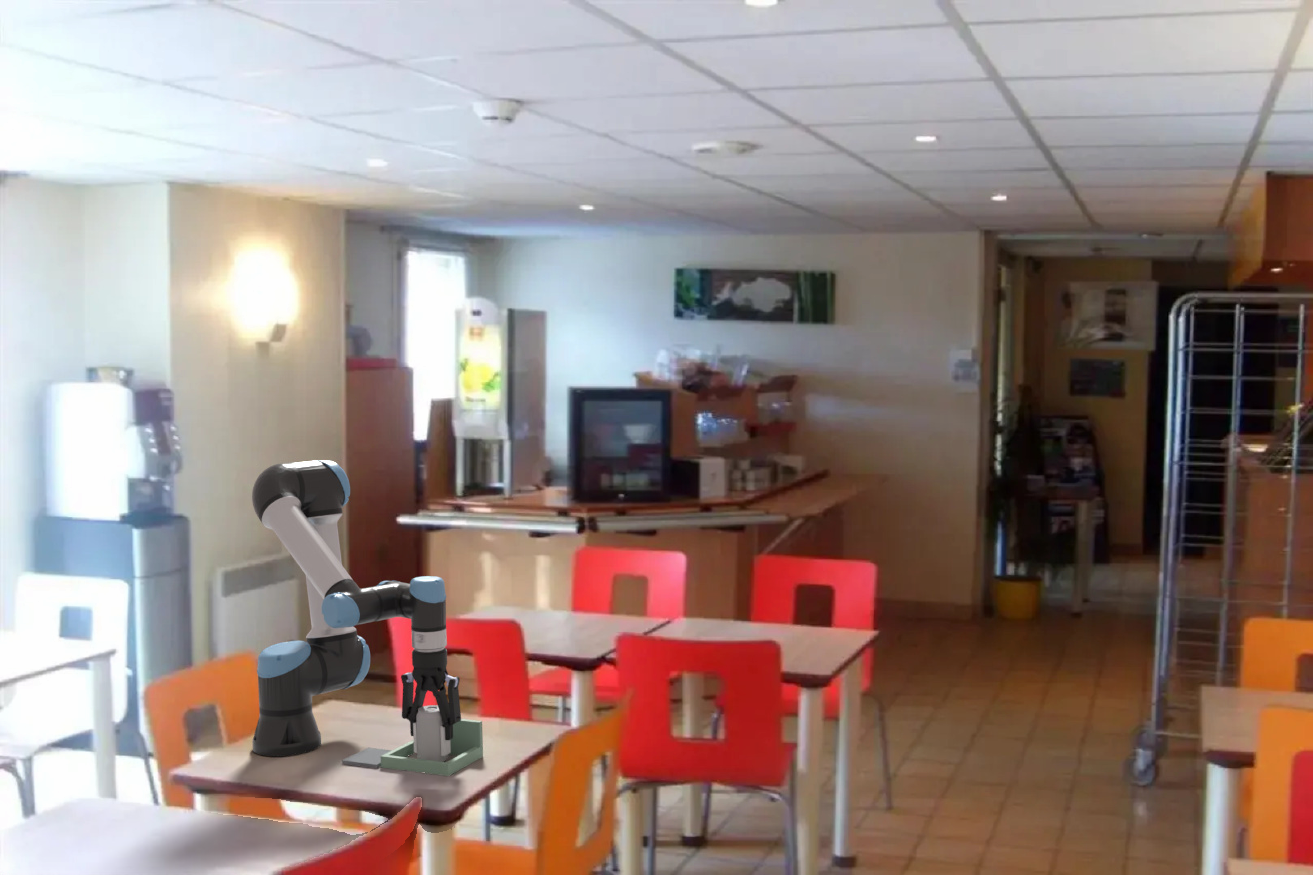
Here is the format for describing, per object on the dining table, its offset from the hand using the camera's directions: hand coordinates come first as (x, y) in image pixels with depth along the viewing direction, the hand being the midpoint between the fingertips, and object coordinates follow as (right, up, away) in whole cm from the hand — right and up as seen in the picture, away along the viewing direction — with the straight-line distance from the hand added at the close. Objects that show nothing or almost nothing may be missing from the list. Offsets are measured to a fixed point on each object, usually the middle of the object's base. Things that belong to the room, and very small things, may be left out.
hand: (432, 752), depth 295 cm
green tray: (0, -2, 0) cm, 2 cm away
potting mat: (-14, -2, +3) cm, 14 cm away
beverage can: (0, -2, 0) cm, 2 cm away
